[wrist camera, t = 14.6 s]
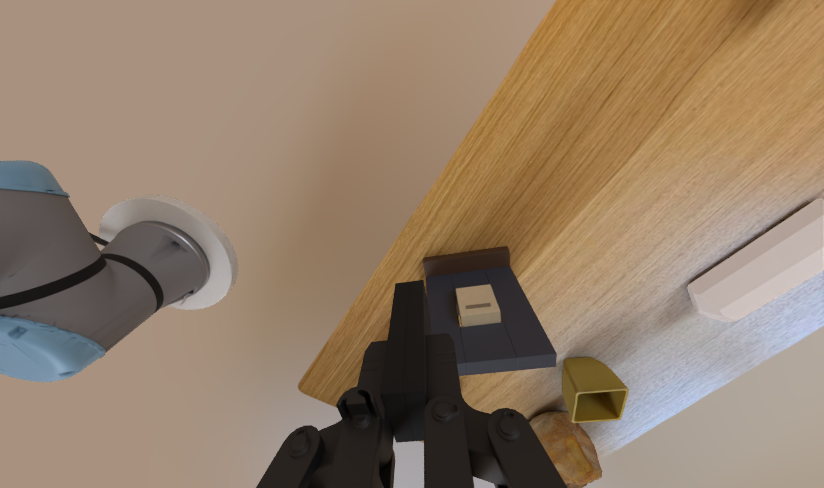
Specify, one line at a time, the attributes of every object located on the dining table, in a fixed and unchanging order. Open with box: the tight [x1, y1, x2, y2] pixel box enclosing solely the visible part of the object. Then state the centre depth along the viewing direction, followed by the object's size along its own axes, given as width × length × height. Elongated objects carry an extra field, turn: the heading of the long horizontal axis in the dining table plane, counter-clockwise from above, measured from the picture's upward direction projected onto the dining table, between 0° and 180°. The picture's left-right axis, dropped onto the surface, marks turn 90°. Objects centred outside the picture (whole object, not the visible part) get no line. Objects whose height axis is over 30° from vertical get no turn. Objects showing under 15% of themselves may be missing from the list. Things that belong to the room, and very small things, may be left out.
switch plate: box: [423, 246, 557, 376], centre depth 42 cm, size 12×14×20 cm
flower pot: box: [562, 357, 629, 423], centre depth 56 cm, size 9×9×9 cm
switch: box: [456, 284, 501, 327], centre depth 40 cm, size 2×5×6 cm, turn 100°
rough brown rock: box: [529, 411, 602, 488], centre depth 64 cm, size 23×17×15 cm
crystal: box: [687, 198, 824, 323], centre depth 45 cm, size 7×7×24 cm
